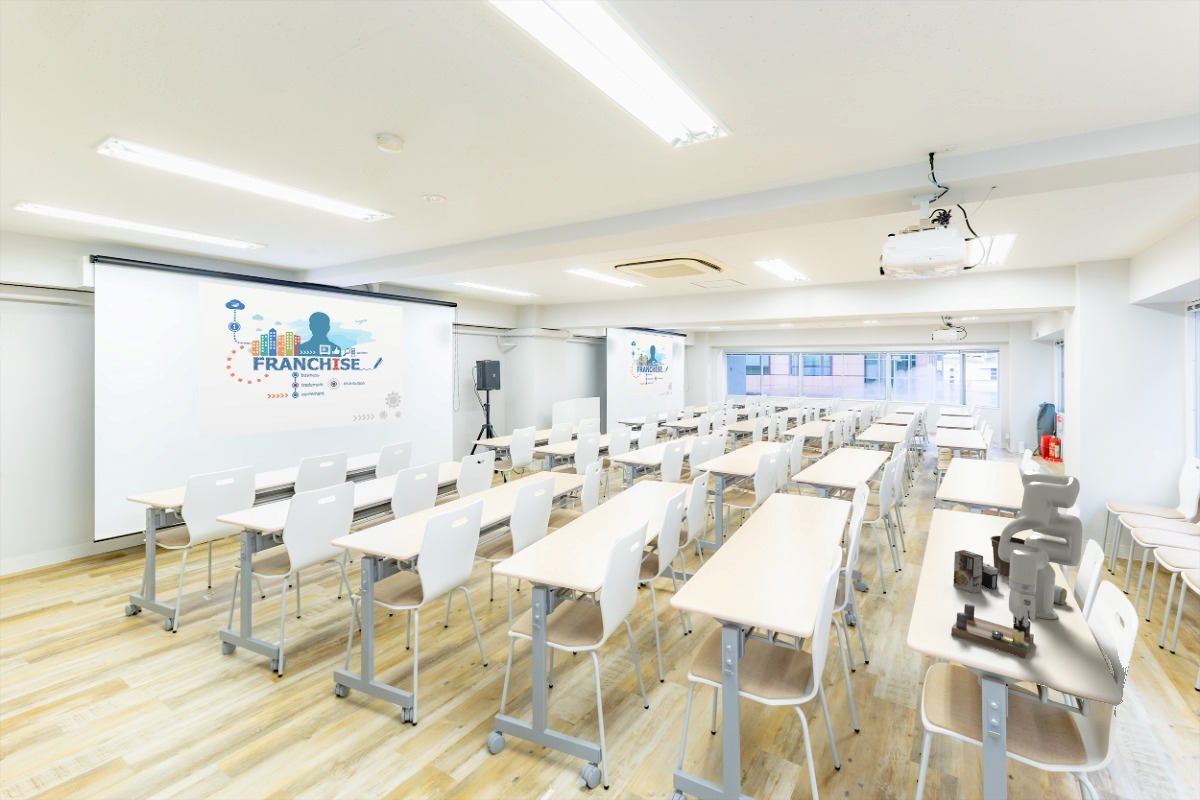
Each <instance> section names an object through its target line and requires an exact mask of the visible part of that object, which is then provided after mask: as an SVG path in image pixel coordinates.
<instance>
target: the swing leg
mask: <svg viewBox="0 0 1200 800" xmlns="http://www.w3.org/2000/svg"><path fill="white" fill-rule="evenodd" d="M992 637H993V638H994V639H997V640H1003V641H1006V642H1009V643H1011V644H1013V645H1014V646H1017V647H1023V645H1024V631H1022V630H1019V629H1013V634H1012V639H1010V638H1007V637H1004V636H1003V633H1001V632H999V631H992Z"/></svg>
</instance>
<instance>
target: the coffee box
mask: <svg viewBox="0 0 1200 800" xmlns="http://www.w3.org/2000/svg"><path fill="white" fill-rule="evenodd" d="M953 563H954V565H953V567H954V568H953V587H956V588H958V589H961V590H964V591H965V592H966V591H967V592H969V593H972V594H974V593H979V592H980V593H981V592H982V587H983V586H982V569H983V563H984V556H983V555H981V554H979V553H975V552H972V551H968V550H965V549H962V550H961V549H960V550H957V551H954V562H953Z"/></svg>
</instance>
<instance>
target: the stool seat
mask: <svg viewBox="0 0 1200 800" xmlns="http://www.w3.org/2000/svg"><path fill="white" fill-rule="evenodd" d="M963 608H964V611H963V612H956V621H955V623H954V624H953V625H952V626H951V633H950V635H951V636H953V637H957V638H959V639H962V640H965V639H966V641H968V640H969V641H968V642H972V643H975V644H979V645H981V644H982V645H981V646H984V645H985V647H987V646H988V648H990V647H991V649H993V648H994V650H997V649H998V650H997V651H1000V652H1004V653H1007V654H1009V653H1010V654H1009V655H1012V654H1013V655H1012V656H1016V657H1019V658H1022V659H1026V658H1027V657H1028V654H1029V652H1030V650H1031V648H1032V646H1033V645H1034V641H1035V640H1034V638H1035V637H1034V636H1035V635H1034V634H1033V633H1031V621H1030V620H1028V626H1026V635H1025V638H1024V645H1023V647H1017V646H1014V645H1013V644H1011V643H1009V642H1006V641H1003V640H997V639H994V638H993V637H992V631H999V632H1001V633H1003V636H1004V637H1007V638H1010V639H1012V634H1013V627H1008V626H1006V625H1003V624H1000V623H999V624H998V623H995V622H992V621H989V620H985V619H981V618H979V617H975V605H973V604H971V603H965V604H964V607H963Z"/></svg>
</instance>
